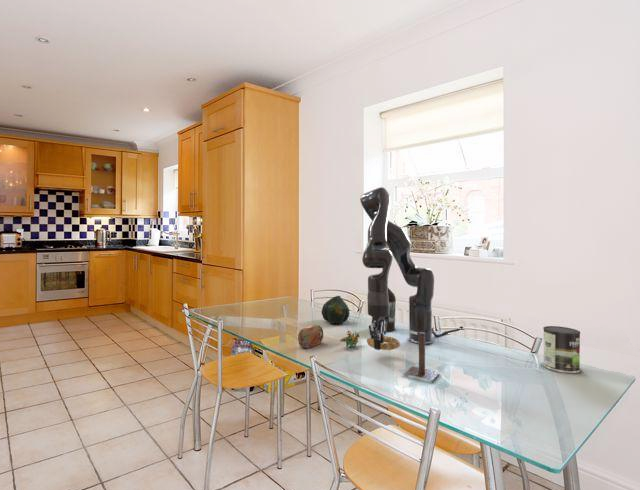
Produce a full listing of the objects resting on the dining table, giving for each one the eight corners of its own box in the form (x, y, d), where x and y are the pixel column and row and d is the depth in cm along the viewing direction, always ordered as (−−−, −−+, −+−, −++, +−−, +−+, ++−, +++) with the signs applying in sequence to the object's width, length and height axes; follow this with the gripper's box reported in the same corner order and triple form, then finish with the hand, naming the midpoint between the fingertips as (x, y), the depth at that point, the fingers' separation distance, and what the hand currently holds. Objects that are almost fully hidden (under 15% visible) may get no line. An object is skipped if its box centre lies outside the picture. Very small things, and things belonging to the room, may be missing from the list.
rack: (412, 369, 142) (412, 328, 142) (439, 375, 137) (439, 332, 136) (404, 377, 136) (404, 333, 135) (432, 383, 130) (432, 338, 129)
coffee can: (585, 370, 139) (586, 330, 139) (571, 375, 134) (571, 334, 134) (551, 361, 148) (552, 324, 148) (537, 366, 143) (537, 328, 143)
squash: (317, 315, 207) (336, 294, 205) (316, 310, 221) (334, 290, 220) (338, 333, 205) (357, 312, 203) (335, 327, 219) (354, 307, 218)
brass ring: (373, 339, 159) (373, 333, 159) (403, 344, 151) (403, 338, 151) (362, 346, 150) (362, 340, 150) (393, 352, 142) (393, 346, 142)
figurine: (362, 348, 168) (362, 329, 167) (342, 353, 161) (342, 333, 161) (357, 346, 170) (356, 327, 170) (336, 351, 164) (336, 331, 164)
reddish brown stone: (302, 350, 166) (302, 330, 166) (296, 348, 169) (296, 329, 168) (324, 342, 176) (323, 324, 176) (318, 341, 179) (318, 322, 178)
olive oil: (369, 329, 197) (369, 279, 197) (379, 325, 205) (379, 277, 204) (390, 333, 190) (389, 281, 189) (399, 328, 197) (399, 279, 197)
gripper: (375, 298, 154) (375, 342, 155) (360, 304, 144) (361, 351, 144) (394, 300, 150) (395, 345, 150) (381, 307, 139) (382, 355, 139)
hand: (378, 348), depth 147 cm, fingers closed on brass ring, 2 cm apart
